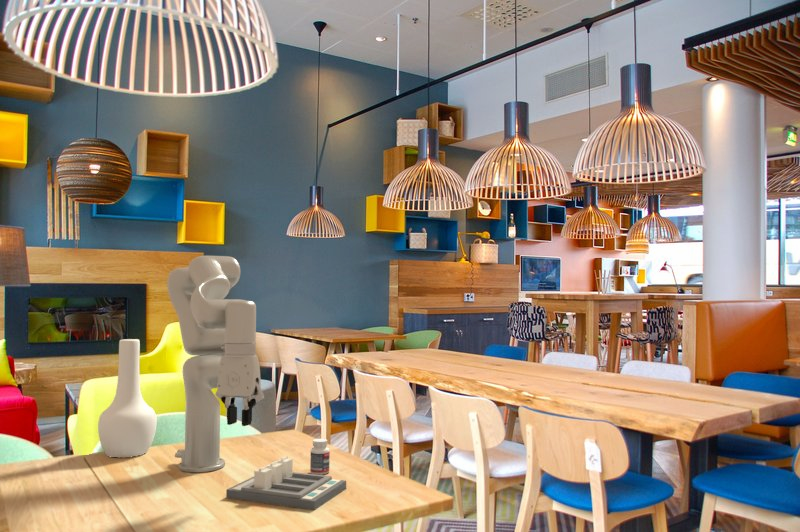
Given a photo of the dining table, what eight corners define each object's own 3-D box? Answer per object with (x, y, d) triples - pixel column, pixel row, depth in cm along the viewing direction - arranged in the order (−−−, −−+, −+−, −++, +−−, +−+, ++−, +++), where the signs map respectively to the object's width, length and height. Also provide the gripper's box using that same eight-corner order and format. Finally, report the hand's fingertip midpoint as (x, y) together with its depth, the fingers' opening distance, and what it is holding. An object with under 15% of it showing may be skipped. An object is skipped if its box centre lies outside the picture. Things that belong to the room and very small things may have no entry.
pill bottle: (325, 475, 172) (326, 442, 172) (307, 474, 173) (307, 441, 173) (331, 470, 177) (332, 438, 177) (314, 469, 178) (314, 437, 178)
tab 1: (254, 489, 153) (254, 468, 153) (260, 486, 155) (261, 465, 156) (264, 491, 152) (265, 469, 152) (271, 487, 154) (271, 466, 155)
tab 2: (265, 483, 157) (265, 463, 157) (271, 480, 160) (272, 460, 160) (275, 485, 156) (276, 464, 156) (282, 481, 159) (282, 461, 159)
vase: (144, 444, 206) (146, 337, 208) (164, 454, 194) (166, 339, 196) (89, 453, 195) (92, 339, 197) (107, 463, 183) (110, 342, 184)
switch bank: (226, 498, 153) (226, 486, 153) (264, 478, 169) (264, 468, 169) (314, 510, 145) (314, 497, 145) (346, 488, 160) (346, 477, 161)
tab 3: (276, 478, 162) (276, 458, 162) (282, 475, 165) (282, 455, 165) (286, 479, 161) (286, 459, 161) (292, 476, 164) (292, 456, 164)
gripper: (203, 350, 157) (201, 424, 156) (260, 352, 151) (259, 430, 150) (221, 347, 164) (220, 419, 163) (277, 350, 158) (276, 424, 157)
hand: (239, 423), depth 157 cm, fingers open, 3 cm apart
